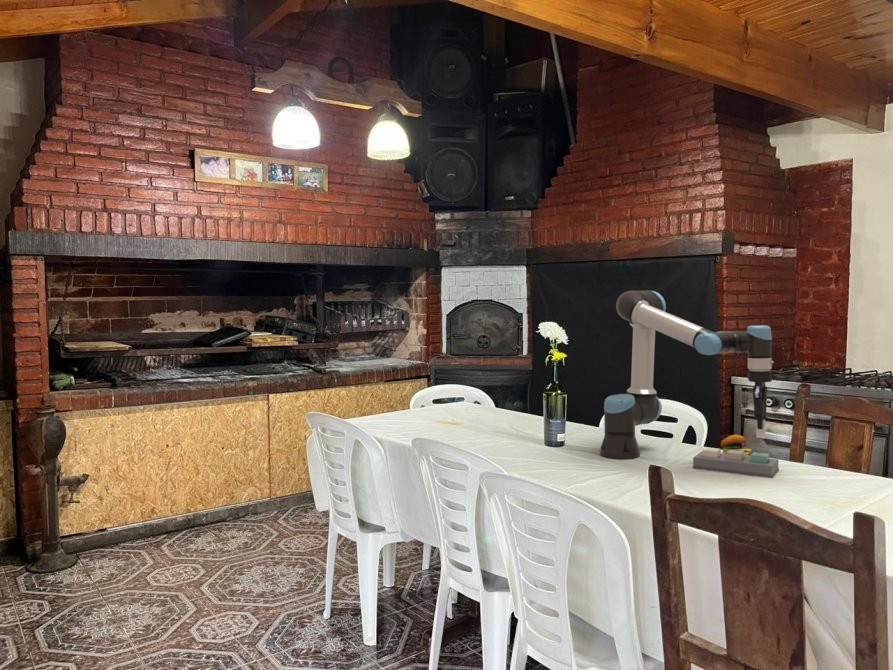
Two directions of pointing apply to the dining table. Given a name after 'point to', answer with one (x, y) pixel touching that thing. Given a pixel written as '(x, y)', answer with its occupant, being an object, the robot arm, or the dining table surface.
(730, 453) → the key grey
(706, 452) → the key ivory
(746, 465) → the keypad base
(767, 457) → the key teal
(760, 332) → the robot arm
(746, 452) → the cheeseburger
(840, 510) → the dining table surface
